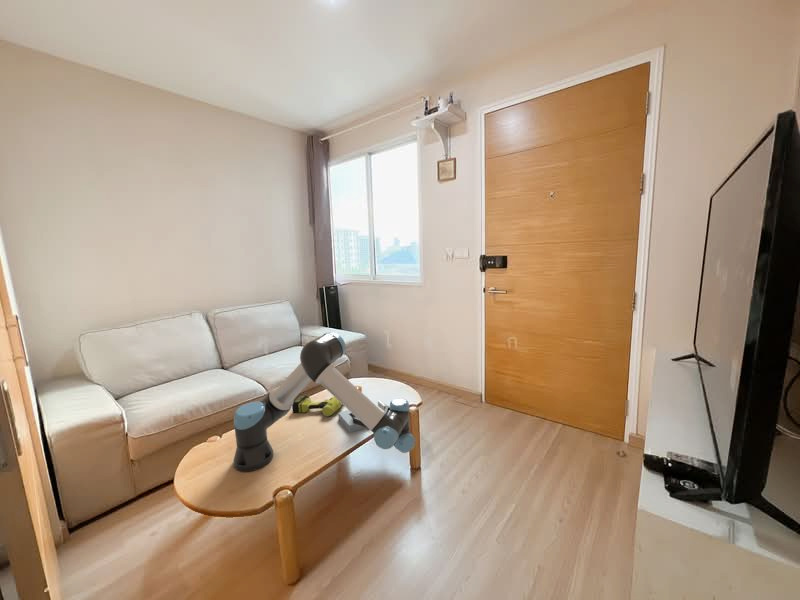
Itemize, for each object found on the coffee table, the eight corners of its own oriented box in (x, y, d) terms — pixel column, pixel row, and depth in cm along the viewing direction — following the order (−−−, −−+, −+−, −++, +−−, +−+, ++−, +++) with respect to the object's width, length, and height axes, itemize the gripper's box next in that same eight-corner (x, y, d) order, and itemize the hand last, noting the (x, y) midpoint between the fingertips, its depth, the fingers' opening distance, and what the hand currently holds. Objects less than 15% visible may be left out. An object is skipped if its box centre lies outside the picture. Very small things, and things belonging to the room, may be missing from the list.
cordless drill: (314, 392, 199) (352, 397, 193) (291, 414, 176) (333, 420, 169) (313, 382, 198) (351, 386, 191) (289, 402, 174) (332, 407, 168)
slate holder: (350, 432, 156) (349, 425, 155) (338, 419, 168) (338, 412, 168) (377, 423, 164) (377, 416, 163) (364, 411, 176) (364, 405, 176)
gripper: (361, 445, 132) (341, 422, 150) (412, 426, 145) (388, 407, 163) (360, 428, 131) (340, 406, 148) (412, 410, 144) (388, 393, 161)
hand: (365, 407), depth 155 cm, fingers open, 13 cm apart
